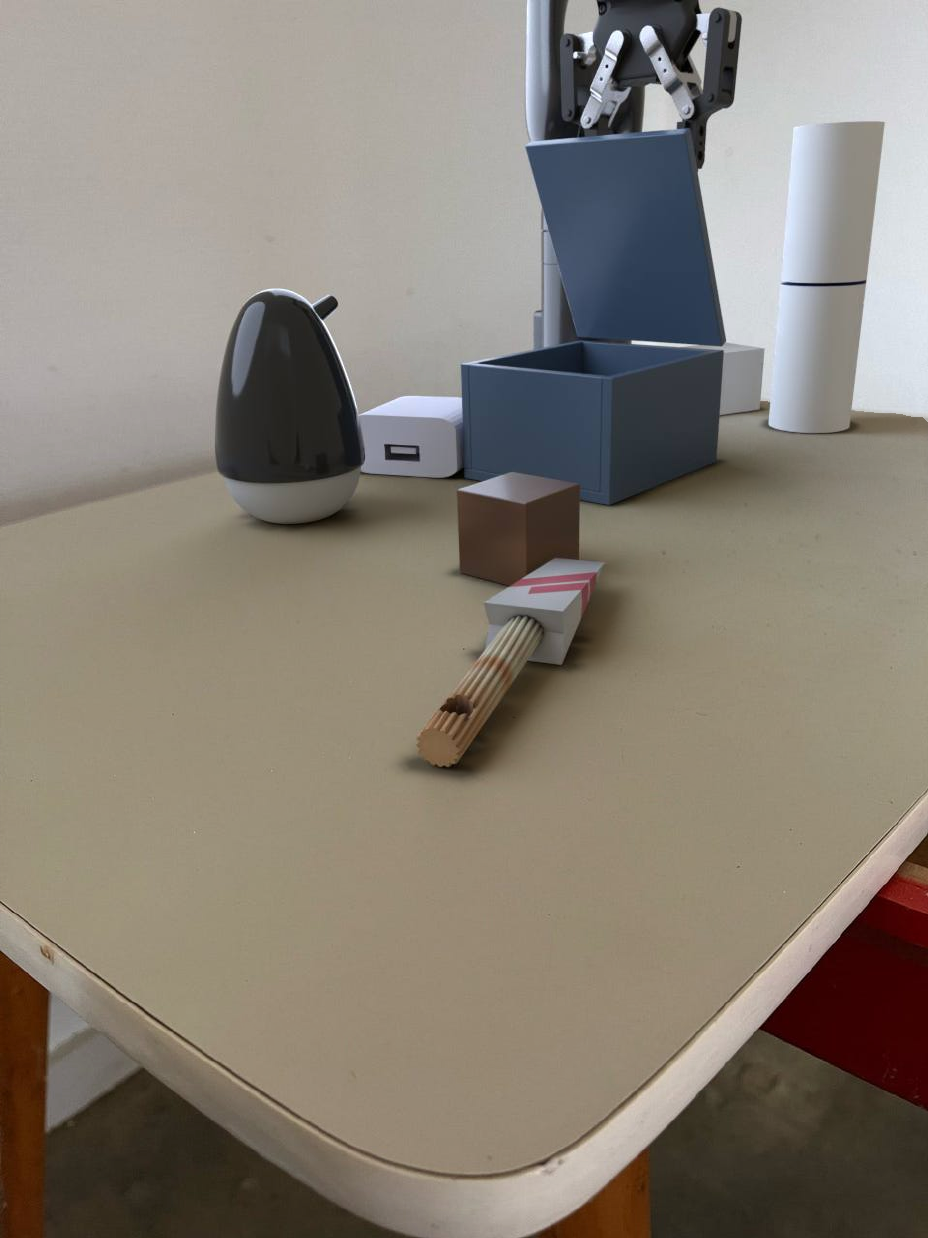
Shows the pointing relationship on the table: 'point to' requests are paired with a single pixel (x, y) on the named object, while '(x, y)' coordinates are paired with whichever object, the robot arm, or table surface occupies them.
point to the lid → (630, 236)
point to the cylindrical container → (824, 274)
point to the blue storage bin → (593, 415)
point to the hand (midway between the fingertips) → (641, 180)
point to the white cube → (740, 377)
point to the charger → (414, 437)
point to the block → (516, 525)
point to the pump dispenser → (286, 412)
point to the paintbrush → (511, 650)
